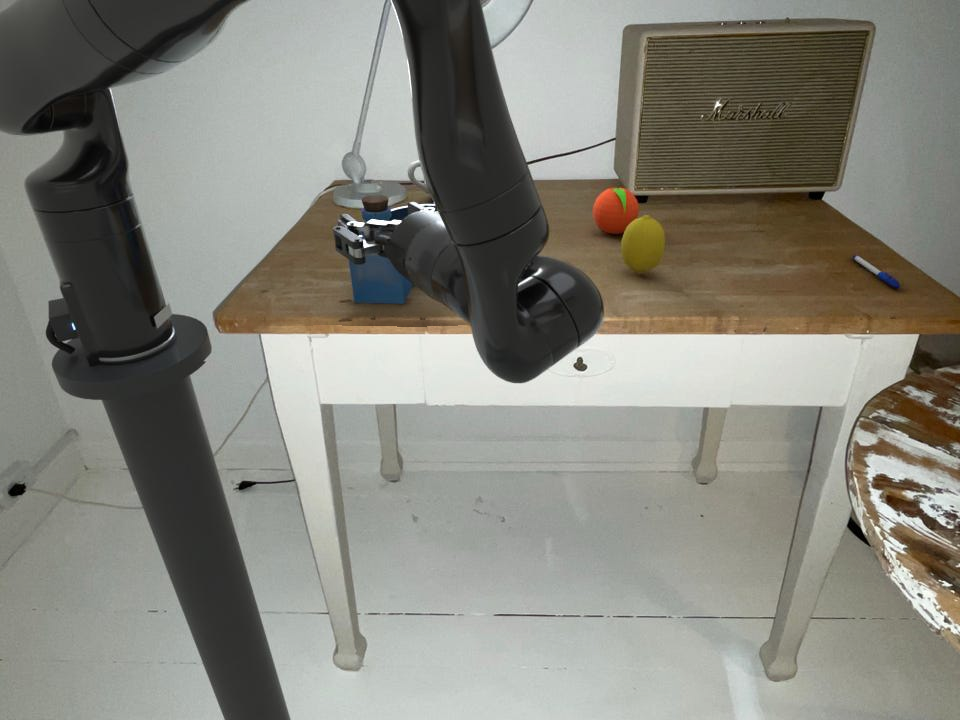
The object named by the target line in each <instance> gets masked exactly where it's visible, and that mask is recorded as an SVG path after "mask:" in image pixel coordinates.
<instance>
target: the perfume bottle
mask: <svg viewBox="0 0 960 720" xmlns="http://www.w3.org/2000/svg"><path fill="white" fill-rule="evenodd" d="M389 199H390V198H389V196H387V195H383V194H373V195H366V196H364V197H362V198H361V203H362V205H363V207H362V208H361V218H362V220H364V222H363V223H366V222H368V221H369V220H380V221H389V218H391V210H392V207H390V205H389ZM389 222H391V221H389ZM380 230H381V229H376V236H377V234H378V233H379V232H380ZM360 235H362V236H363V240H365V235H364V232H363V231H360V230H359V236H360ZM365 260H366V263H364V264H361V265H357V264H354V263H353V262H351V261H350V260H349V259H348V264H349V272H350V280H351V287H352V295H353V303H355V304H356V303H357V304H358V303H360V304H396V305H397V304H400V305H404V304H405V303H406V301H407V299H408V296H409V294H410V292H411V290H412V288H413V286H414V285H413V284H412V283H411V282H410V281H408V280H407V279H406V278H404V277H403V276H402V275H401V274H400V273H398V271H397V270H396V269H395V268H394V266H393V265H392V263H391V261H390V260H389V259H388V258H385V257H381V256H379V255H378V254H372V255H367V256H365Z"/></svg>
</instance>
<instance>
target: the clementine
mask: <svg viewBox="0 0 960 720" xmlns="http://www.w3.org/2000/svg"><path fill="white" fill-rule="evenodd" d="M639 213H640V206H639V201H638V199H637V198H636V196H635V195H634V194H633V193H632V192H631V191H630V190H628V189H627V188H624V187H619V186H617V187H610V188H607V189H605V190H604V191H603V192H601V193H599V195H598V196H597V197H596V199H595V201H594V204H593V207H592V217H593V219H594V222H595V224H596V225H597V227H598V228H599V229H600V230H602V231H603V232H605V233H607V234H611V235H618V234H624V232H625V230H626V228H627V226H628V225H629V224H630V223H631V222H632V221H634V220H635V219H638V218H639Z"/></svg>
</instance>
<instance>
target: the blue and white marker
mask: <svg viewBox="0 0 960 720" xmlns="http://www.w3.org/2000/svg"><path fill="white" fill-rule="evenodd" d="M852 258H853V260H854V261H856V262H857V263H858V264H860V265H861V266H863V267H864V268H866V269H867V270H869V272H871V273H873V274H874V275H875V276H877V277H878V278H879V279H880V280H882V281H884V282H885V283H886V284H888V285H889V286H891V287H892V288H894V289H896V290H898V289H900V288H901V284H900V282H899V281H898V279H896V278H895V277H893V276H892V275H891V274H889V273H888V272H884V271H881V270H880V269H878V268H877V267H875V266H874V265H872V264H871V263H869V262H868V261H867V260H865V259H863V258H862V257H860V256H859V255H856V254H853V255H852Z"/></svg>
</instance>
